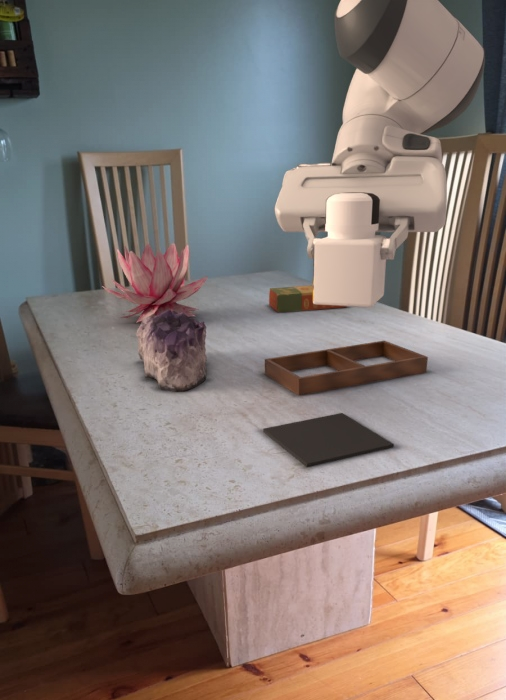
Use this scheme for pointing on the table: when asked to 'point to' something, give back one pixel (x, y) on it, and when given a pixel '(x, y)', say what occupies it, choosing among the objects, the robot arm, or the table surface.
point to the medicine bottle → (349, 253)
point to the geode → (173, 350)
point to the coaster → (326, 439)
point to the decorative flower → (157, 282)
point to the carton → (295, 299)
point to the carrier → (344, 367)
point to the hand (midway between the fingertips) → (350, 256)
